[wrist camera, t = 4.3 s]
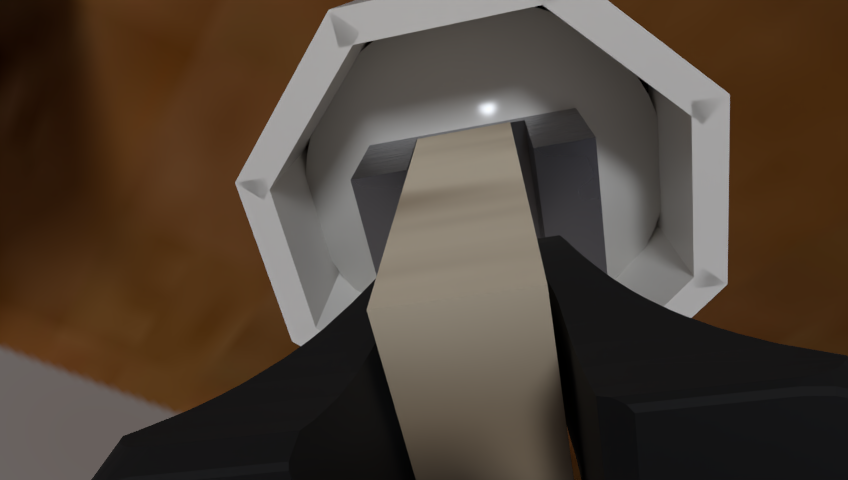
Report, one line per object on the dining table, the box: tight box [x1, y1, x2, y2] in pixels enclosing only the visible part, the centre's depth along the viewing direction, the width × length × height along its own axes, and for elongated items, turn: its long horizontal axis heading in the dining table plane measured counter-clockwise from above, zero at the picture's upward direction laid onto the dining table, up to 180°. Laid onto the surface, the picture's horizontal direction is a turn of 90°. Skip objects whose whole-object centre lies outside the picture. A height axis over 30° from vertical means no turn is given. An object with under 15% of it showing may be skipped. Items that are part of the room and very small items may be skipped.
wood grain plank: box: [367, 122, 574, 480], centre depth 11 cm, size 5×2×8 cm, turn 12°
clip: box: [351, 108, 607, 276], centre depth 16 cm, size 4×6×3 cm
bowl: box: [235, 0, 730, 346], centre depth 16 cm, size 12×12×4 cm
